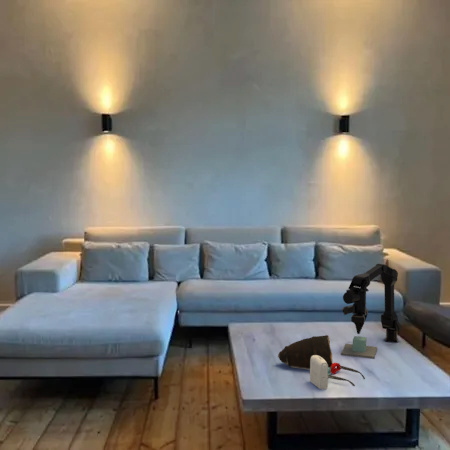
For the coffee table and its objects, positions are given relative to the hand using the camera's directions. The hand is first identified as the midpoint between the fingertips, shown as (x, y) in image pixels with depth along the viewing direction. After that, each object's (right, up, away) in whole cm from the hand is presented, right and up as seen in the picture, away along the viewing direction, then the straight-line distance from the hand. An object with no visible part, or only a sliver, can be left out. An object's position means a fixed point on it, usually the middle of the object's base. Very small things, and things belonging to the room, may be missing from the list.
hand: (359, 331), depth 262 cm
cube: (0, -10, +1) cm, 10 cm away
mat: (0, -11, +1) cm, 11 cm away
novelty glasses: (-16, -14, -35) cm, 40 cm away
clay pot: (-30, -13, -19) cm, 38 cm away
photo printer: (-28, -14, -42) cm, 52 cm away
